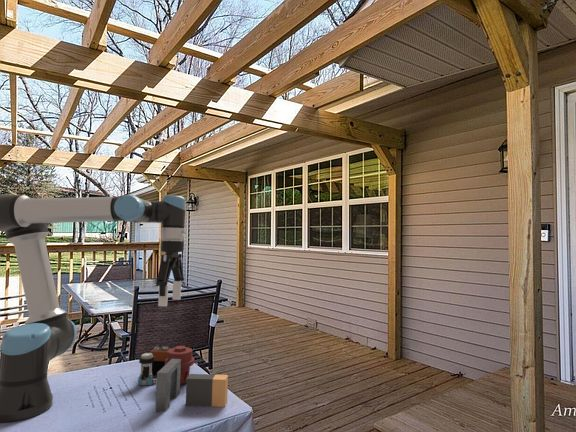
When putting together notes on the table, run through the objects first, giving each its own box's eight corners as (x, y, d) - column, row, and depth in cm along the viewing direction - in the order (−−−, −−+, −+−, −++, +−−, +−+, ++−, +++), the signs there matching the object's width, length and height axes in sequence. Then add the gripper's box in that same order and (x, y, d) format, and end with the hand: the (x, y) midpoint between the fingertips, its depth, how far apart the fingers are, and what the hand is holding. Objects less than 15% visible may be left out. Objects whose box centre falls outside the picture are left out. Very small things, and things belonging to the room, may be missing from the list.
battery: (166, 377, 135) (168, 349, 135) (148, 376, 135) (149, 348, 136) (171, 372, 139) (172, 345, 140) (153, 372, 139) (154, 345, 140)
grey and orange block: (185, 405, 112) (186, 378, 113) (189, 399, 116) (190, 373, 117) (224, 406, 112) (225, 379, 112) (227, 401, 116) (228, 375, 116)
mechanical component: (198, 379, 133) (185, 390, 123) (173, 376, 135) (158, 387, 125) (199, 344, 134) (186, 352, 124) (174, 342, 136) (159, 350, 126)
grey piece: (155, 411, 108) (157, 372, 109) (170, 393, 121) (172, 358, 122) (165, 411, 108) (167, 373, 109) (179, 393, 121) (181, 359, 122)
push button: (159, 380, 131) (160, 352, 132) (154, 386, 126) (156, 356, 126) (140, 380, 131) (141, 352, 131) (135, 386, 125) (136, 356, 126)
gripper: (171, 240, 115) (168, 309, 113) (193, 240, 140) (191, 297, 138) (147, 240, 115) (144, 309, 114) (174, 240, 140) (171, 296, 138)
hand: (170, 302), depth 126 cm, fingers open, 13 cm apart
